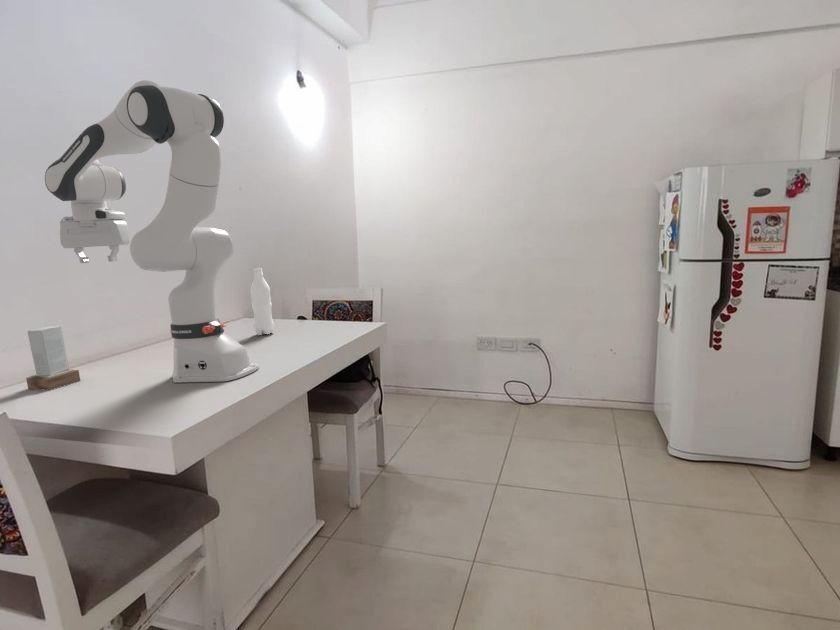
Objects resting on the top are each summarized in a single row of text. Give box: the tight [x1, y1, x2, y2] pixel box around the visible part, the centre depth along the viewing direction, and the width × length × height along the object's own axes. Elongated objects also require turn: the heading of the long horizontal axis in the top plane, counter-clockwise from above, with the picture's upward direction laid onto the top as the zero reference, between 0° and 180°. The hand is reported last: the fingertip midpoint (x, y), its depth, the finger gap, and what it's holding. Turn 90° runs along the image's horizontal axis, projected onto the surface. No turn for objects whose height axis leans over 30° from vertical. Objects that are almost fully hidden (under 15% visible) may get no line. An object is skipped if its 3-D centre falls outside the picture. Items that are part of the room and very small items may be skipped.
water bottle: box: [249, 267, 275, 336], centre depth 181 cm, size 7×7×25 cm
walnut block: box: [25, 368, 81, 391], centre depth 128 cm, size 8×8×3 cm
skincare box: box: [27, 325, 70, 376], centre depth 127 cm, size 6×4×12 cm
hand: (98, 262), depth 144 cm, fingers open, 8 cm apart
